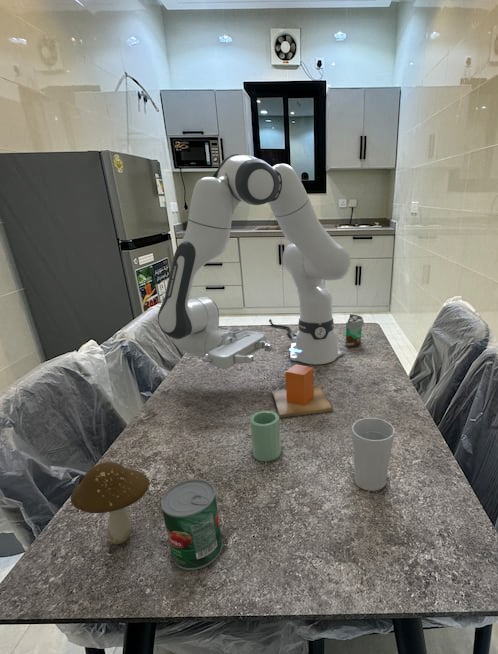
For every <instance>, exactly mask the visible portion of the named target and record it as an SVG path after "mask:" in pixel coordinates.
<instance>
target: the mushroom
mask: <svg viewBox="0 0 498 654" xmlns="http://www.w3.org/2000/svg"><path fill="white" fill-rule="evenodd" d="M150 483H151V482H150V479H149V477H147V475H145V473H143V472H141V471H139V470H137V469H132V468H128V467H125V466H123V465H122V464H120V463H118V462H114V461H104V462H100V463H97V464H96V465H94V466H92V467H91V468H89V470H87V472H86V473H85V474H84V476H83V478H82V480H81V482H79V483H78V484H77V485H76V486H75V488H74V489H73V490H72V492H71V494H70V503H71V505H72V506H73V507H74V508H75V509H76V510H78V511H80V512H84V513H87V514H105V513H109V515H108V522H107V523H108V525H107V539H108V541H109V542H110V543H111V544H113V545H120V544H123V543H124V542H127V540H129V538H130V536H131V534H132V530H133V525H132V521H131V517H130V514H129V513H128V510H127V507H130V506H132V505H133V504H135V503H137V502H138V501H139V500H141V499H142V498H143V497H144V496H145V494H146V493H147V491H148V490H149V487H150Z"/></svg>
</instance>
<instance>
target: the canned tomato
mask: <svg viewBox="0 0 498 654" xmlns="http://www.w3.org/2000/svg"><path fill="white" fill-rule="evenodd" d="M160 507H161V510H162V516H163V521H164V524H165V528H166V534H167V538H168V543H169V547H170V553H171V557H172V561H173V563H174V564H175V566H177V567H178V568H179V569H181V570H185V571H196V570H199V569H204V568H205V567H207V566H209V565H211V564H212V563H213V562H215V561H216V559H217V558H218V557H219V556H220V554H221V552H222V550H223V544H224V543H223V538H222V530H221V525H220V524H221V523H220V518H219V517H220V516H219V510H218V502H217V496H216V489H215V486H214V485H213V484H212V483H211V482H209V481H207V480H205V479H202V478H201V479H200V478H192V479H185V480H183V481H182V480H181V481H180V482H178V483H176V484H174V485H172V486H171V487H169V488H168V489H167V490H166V491H165V492H164V494H162V497H161V500H160Z"/></svg>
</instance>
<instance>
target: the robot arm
mask: <svg viewBox="0 0 498 654" xmlns="http://www.w3.org/2000/svg"><path fill="white" fill-rule="evenodd" d="M241 202H243V203H246V204H248V205H252V206H261V205H266V204H267V203H268V205H269V206H270V209H271V211H272V213H273V215H274V217H275V220H276V222H277V224H278V226H279V228H280V230H281V233H282V234H283V236H284V238H285V239H286V240H287V241H288V242H289V243H290V244H288V245H287V246H286V247H284V250H283V253H282V258H281V259H282V264H283V267H284V269H285V270H286V271H287V272H288V273H289V274H290V276H291V278H292V281H293V282H294V285H295V289H296V293H297V295H298V304H299V305H298V306H299V318H298V330H297V331H296V332H293V333H292V335H291V331H292V330H291V328H290V327H289V326H287V325H279V324H274V323H273V321H272V319H271V318H269V319H268V323H270V325H271V326H272V327H276V328H282V329H286V330H287V335H288V337H289V339H291V344H290V348H289V349H288V350H289V352H290V357H289V359H290V361H294V362H299V363H303V364H307V365H326V364H329V363H332V362H334V361H335V360H337V358H339V357H341V356H342V355H343V352H342V351H341V350H340V349H339V340H338V337H339V336H338V333H337V332H336V331H335V330H334V328H335V327H334V326H335V321H334V318H333V295H332V294H331V292H330V291H329V290H328V289H327V288H326V286H325V284H324V282H323V281H337V280H343V279H344V278H345V277H347V275H348V274H349V272H350V270H351V266H352V258H351V255H350V253H349V251H348V250H347V249H346V248H345V247H343V246H342V245H340V244H339V243H338V242H336V241H335V239H334V238H333V237H332V236H331V235H330V234H329V233H328V231H327V230H326V229H325V227H324V226H323V225H322V223H321V222H320V220H319V218H318V216H317V214H316V211H315V210H314V207H313V205H312V203H311V199H310V197H309V195H308V193H307V191H306V189H305V187H304V184H303V183H302V180H301V179H300V176H299V175H298V174H297V172H296V171H295V169H294V168H293V166H291V165H289V164H287V163H277V164H274V165H273V166H271V165H270V164H269V163H268V162H267V161H265V160H263V159H260V158H257V157H255V156H253V155H248V154H240V153H239V154H238V153H236V154H231V155H229V156H227V157H225V158H224V159H223V160H222V162H221V163H220V164H219V166H218V168H217V169H216V171H215V172H214V174H213V175H212V176H205V177H202V178H199V179H198V180H197V181H196V183H195V184H194V188H193V191H192V194H191V199H190V204H189V210H188V216H187V224H186V229H185V232H184V235H183V238H182V240H181V242H180V243H179V245H178V246H177V247H176V249H175V252H174V255H173V258H172V262H171V266H170V271H169V275H168V276H169V277H168V281H167V285H166V290H165V294H164V298H163V301H162V303H161V305H160V307H159V310H158V314H157V324H158V326H159V328H160V330H161V331H162V332H163V333H164V334H165V335H166V336H168V337H170V338H171V339H174V343H175V345H176V347H177V348H178V349H179V350H180V351H181V352H183V353H184V354H187V355H190V356H194V357H198V358H201V360H202V361H203V362H206V363H208V364H209V365H210V366H211V367H215V368H217V369H222V370H227V369H230V368H232V367H233V366H235V365H237V364H252V363H253V362H254V361H255V358H254V355H253V354H255V353H257V352H258V351H260V350H264V352H271V351H272V350H273V344H272V343H267V336H266V335H265V334H264V333H262V332H257V331H252V330H244V329H243V328H241V327H237V328H232V329H227V330H219V326H220V311H219V307H218V305H217V304H216V302H215V301H214V300H213V299H211V298H210V297H209V296H205V295H203V296H196V297H192V298H190V295H191V291H192V287H193V282H194V279H195V277H196V274H197V273H198V272H199V270H200V269H201V268H202V267H204V266H205V265H206V264H208V263H209V262H211V261H213V260H215V259H216V258H218V257H220V256H221V255H223V253H224V252H225V251H226V249H227V247H228V244H229V241H230V237H231V229H232V223H233V215H234V212H235V210H236V208H237V206H238V205H239V204H240V203H241Z"/></svg>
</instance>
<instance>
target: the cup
mask: <svg viewBox="0 0 498 654" xmlns="http://www.w3.org/2000/svg"><path fill="white" fill-rule="evenodd" d="M395 433H396V429H395V427H394V425H392V424H391V423H390V422H389V421H387V420H384V419H381V418H378V417H365V418H361V419H358V420H356V421H355V422H354V423H352V425H351V436H352V450H353V470H354V472H353V473H354V475H353V476H354V477H353V480H354V483H355V484H356V485H357V486H358V487H359V488H360V489H362V490H365V491H369V492H374V491H379V490H381V489H383V488H385V486H386V484H387V478H388V477H387V476H388V471H389V465H390V459H391V453H392V448H393V444H394V438H395Z"/></svg>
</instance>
